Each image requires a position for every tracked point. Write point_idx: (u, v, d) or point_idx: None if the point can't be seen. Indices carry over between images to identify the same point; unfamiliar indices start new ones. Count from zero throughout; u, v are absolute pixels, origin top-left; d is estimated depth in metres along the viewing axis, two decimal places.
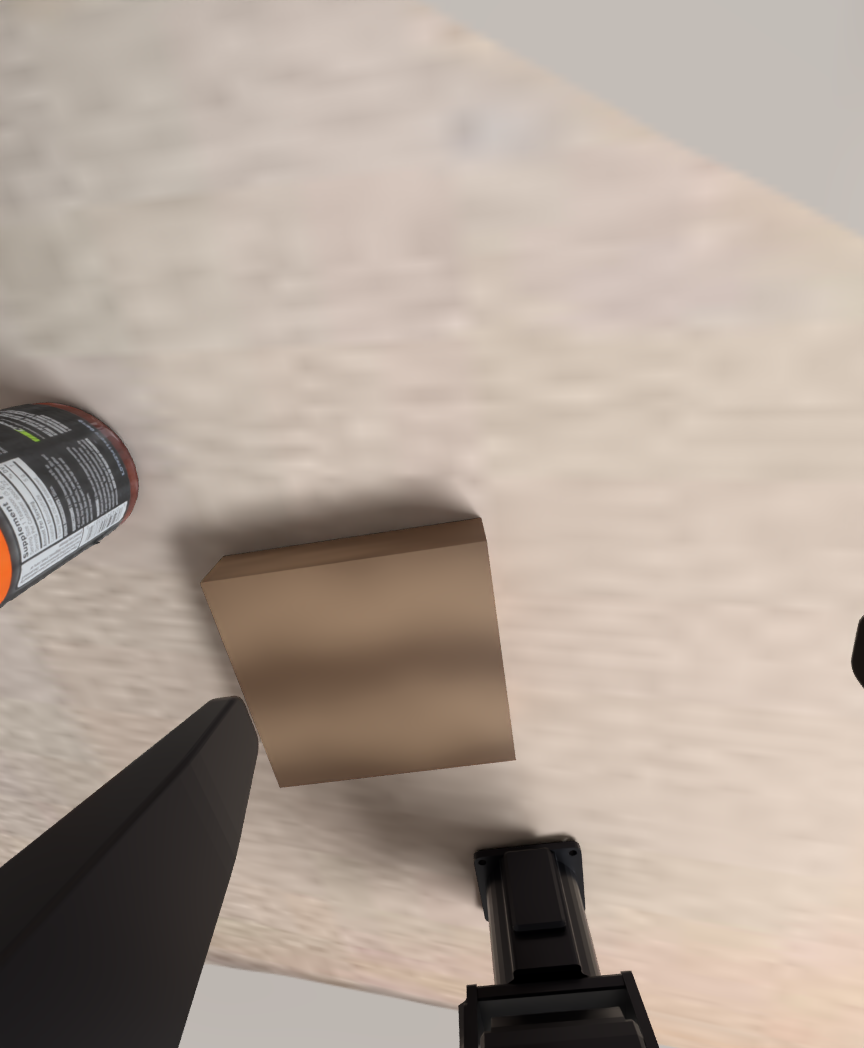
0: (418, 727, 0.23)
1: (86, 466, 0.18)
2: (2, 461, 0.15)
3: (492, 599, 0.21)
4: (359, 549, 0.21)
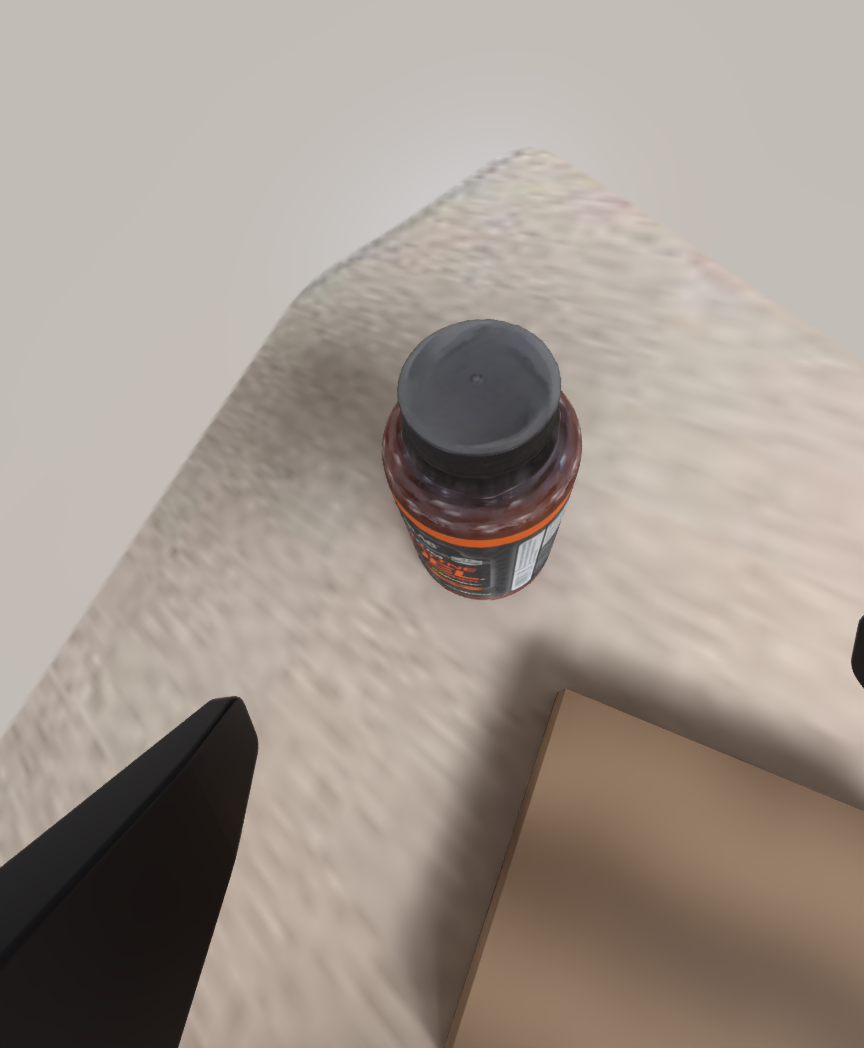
0: None
1: None
2: None
3: None
4: None
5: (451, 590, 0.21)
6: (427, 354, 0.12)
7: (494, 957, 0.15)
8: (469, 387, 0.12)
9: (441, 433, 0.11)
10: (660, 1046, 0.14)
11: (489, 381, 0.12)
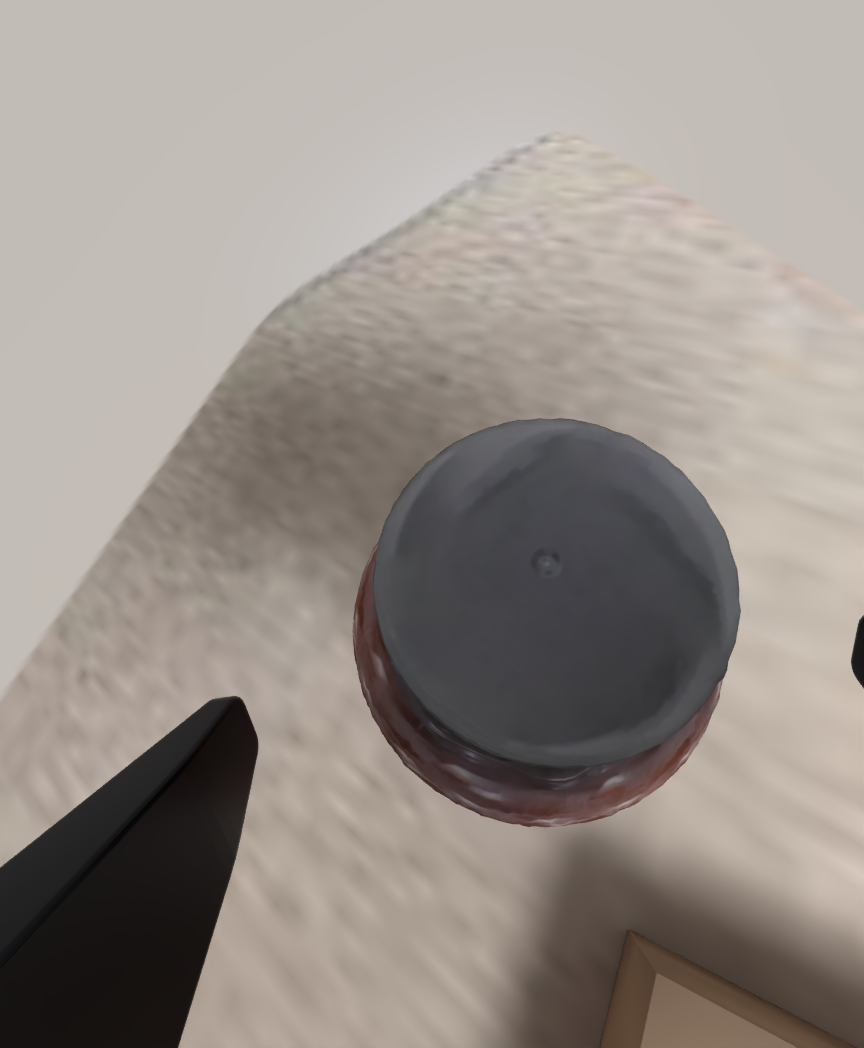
0: None
1: None
2: None
3: None
4: None
5: None
6: (437, 498, 0.06)
7: None
8: (532, 584, 0.05)
9: (469, 704, 0.05)
10: None
11: (577, 569, 0.05)
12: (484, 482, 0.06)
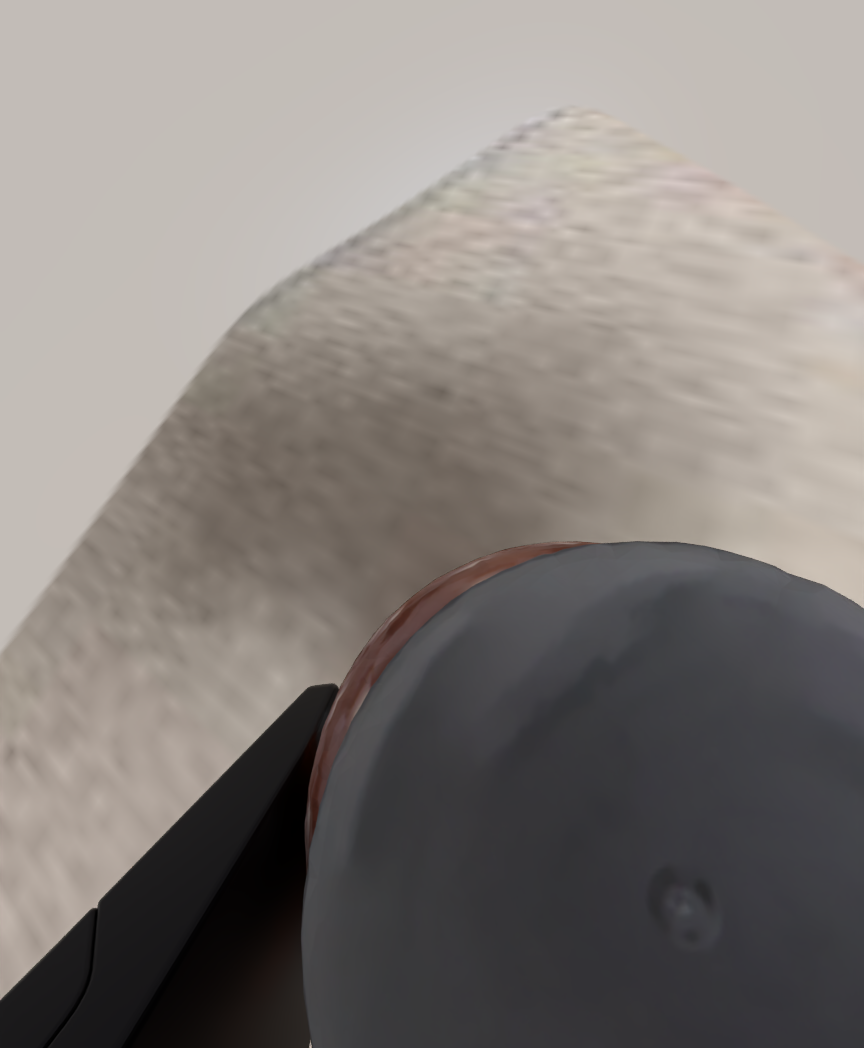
0: None
1: None
2: None
3: None
4: None
5: None
6: (438, 722, 0.03)
7: None
8: (657, 964, 0.02)
9: None
10: None
11: (759, 934, 0.02)
12: (535, 689, 0.03)
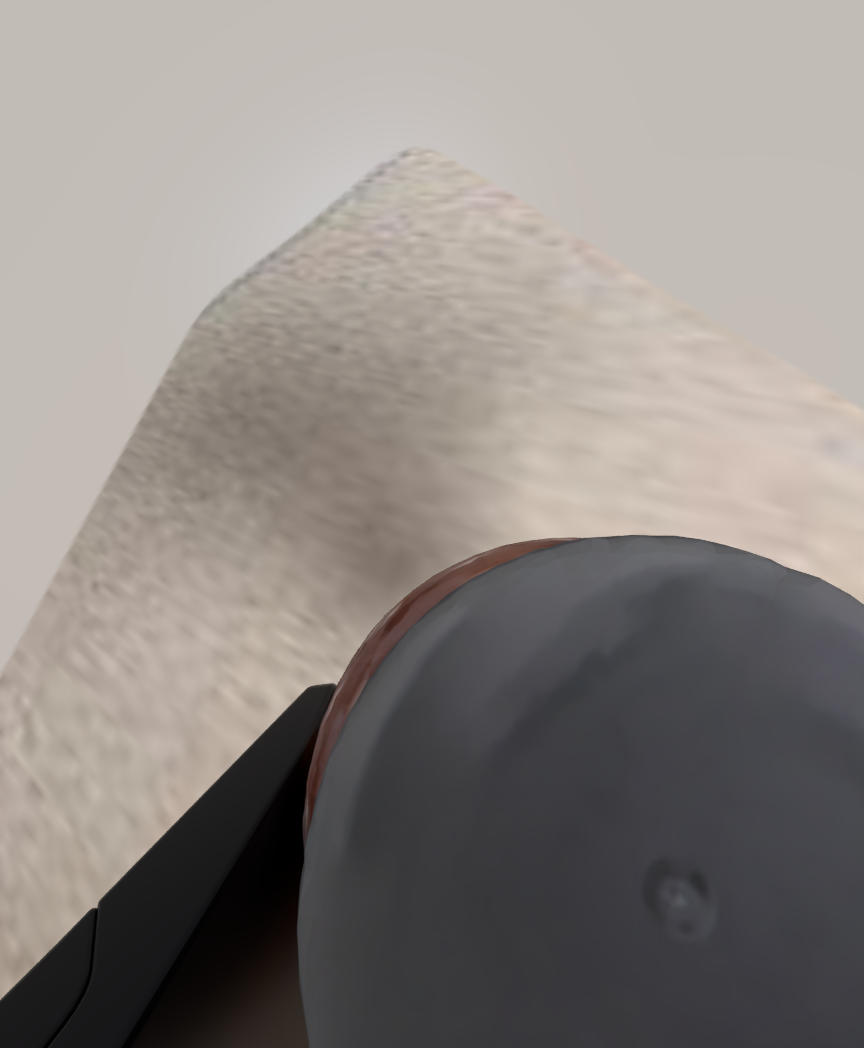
0: None
1: None
2: None
3: None
4: None
5: None
6: (434, 714, 0.03)
7: None
8: (651, 956, 0.02)
9: None
10: None
11: (752, 922, 0.02)
12: (531, 681, 0.03)
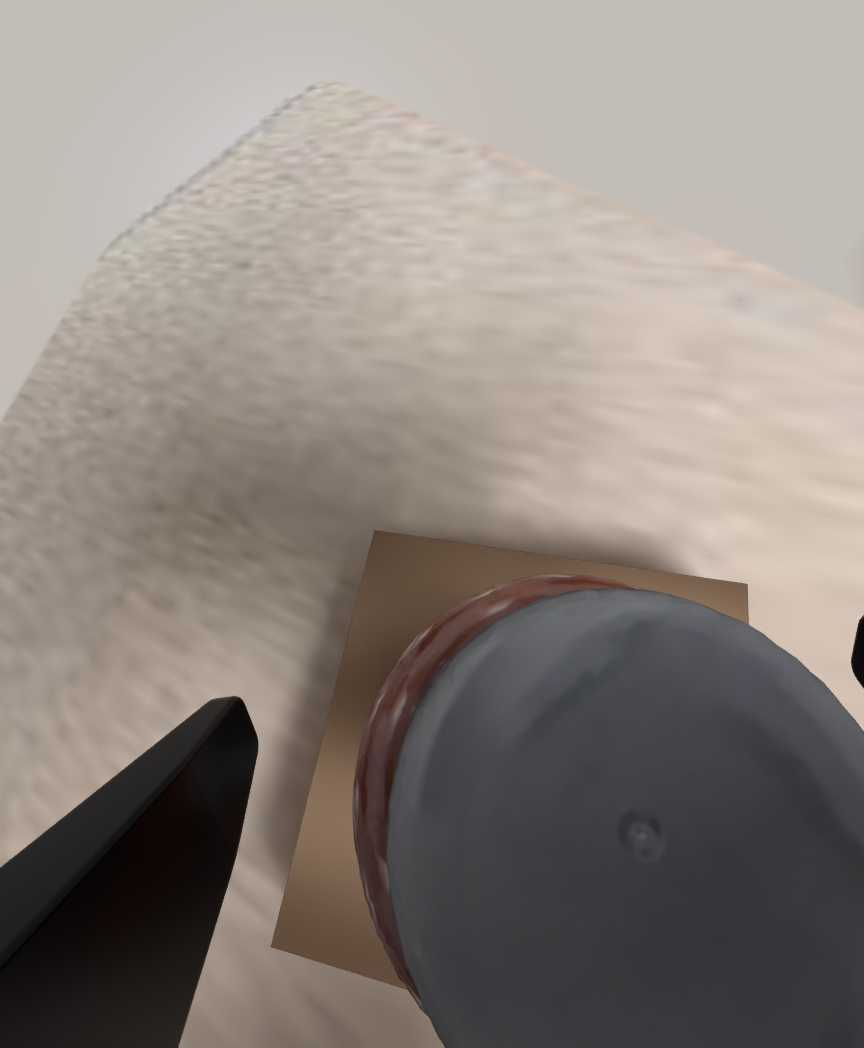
0: None
1: None
2: None
3: None
4: None
5: None
6: (477, 715, 0.04)
7: (322, 787, 0.14)
8: (623, 872, 0.04)
9: None
10: None
11: (689, 849, 0.04)
12: (543, 692, 0.04)
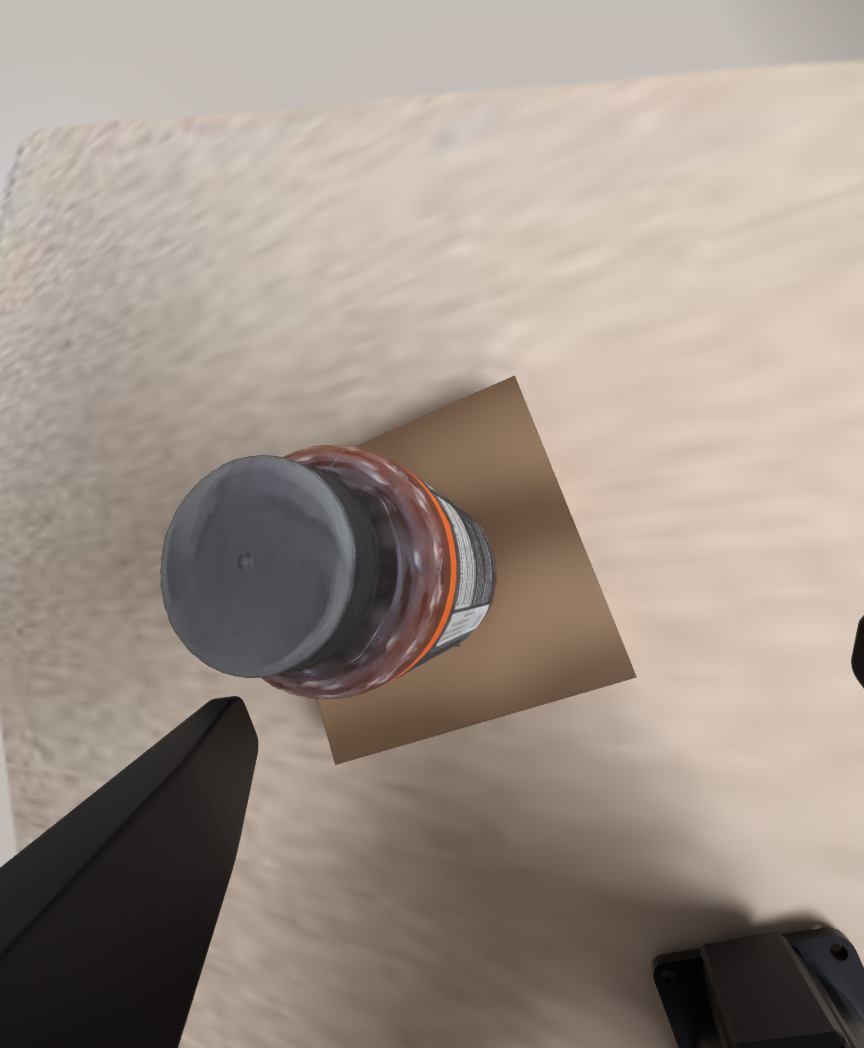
0: (490, 635, 0.19)
1: (482, 543, 0.16)
2: (445, 501, 0.14)
3: (537, 438, 0.19)
4: None
5: None
6: (177, 555, 0.09)
7: None
8: (243, 578, 0.09)
9: (239, 659, 0.09)
10: None
11: (261, 557, 0.09)
12: (196, 531, 0.09)
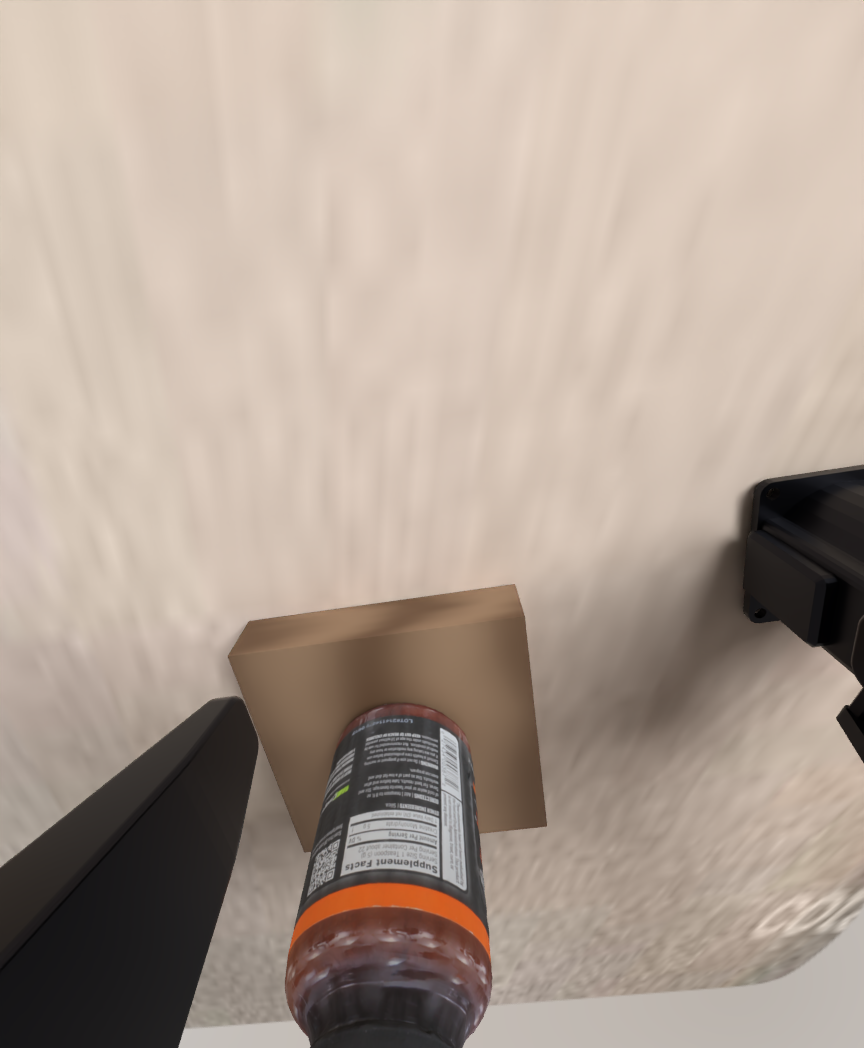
0: (466, 711, 0.21)
1: (387, 756, 0.18)
2: (346, 835, 0.15)
3: (293, 649, 0.20)
4: None
5: None
6: None
7: None
8: None
9: None
10: None
11: None
12: None
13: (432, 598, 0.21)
